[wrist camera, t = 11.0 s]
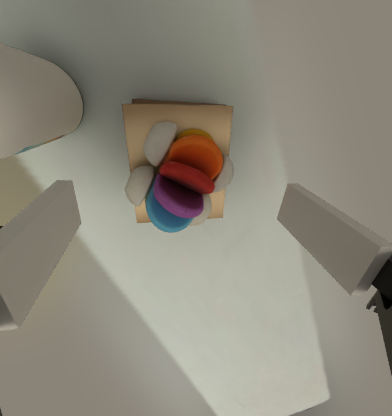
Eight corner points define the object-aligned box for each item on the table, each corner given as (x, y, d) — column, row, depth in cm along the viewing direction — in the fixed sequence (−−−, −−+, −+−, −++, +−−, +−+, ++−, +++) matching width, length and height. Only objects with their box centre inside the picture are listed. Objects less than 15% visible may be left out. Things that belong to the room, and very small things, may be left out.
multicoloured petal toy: (236, 149, 21) (269, 170, 15) (191, 223, 25) (202, 266, 18) (160, 104, 18) (162, 107, 12) (120, 195, 22) (105, 235, 15)
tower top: (127, 103, 21) (121, 104, 18) (221, 105, 23) (233, 106, 19) (139, 207, 27) (137, 223, 23) (214, 203, 28) (222, 217, 25)
